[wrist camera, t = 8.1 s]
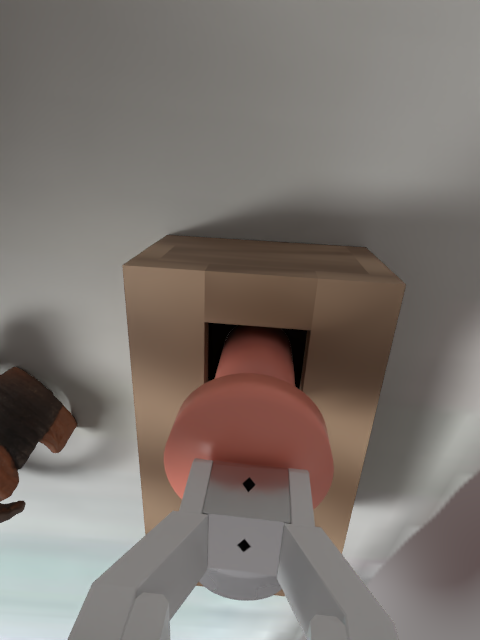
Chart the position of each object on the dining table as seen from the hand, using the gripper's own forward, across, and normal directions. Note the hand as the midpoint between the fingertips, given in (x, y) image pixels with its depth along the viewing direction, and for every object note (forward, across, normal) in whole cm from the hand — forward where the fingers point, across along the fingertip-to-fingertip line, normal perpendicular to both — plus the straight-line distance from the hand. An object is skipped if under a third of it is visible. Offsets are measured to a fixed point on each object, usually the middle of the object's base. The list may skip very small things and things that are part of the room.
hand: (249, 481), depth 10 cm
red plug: (+7, 0, 0) cm, 7 cm away
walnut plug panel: (+11, 0, +5) cm, 12 cm away
